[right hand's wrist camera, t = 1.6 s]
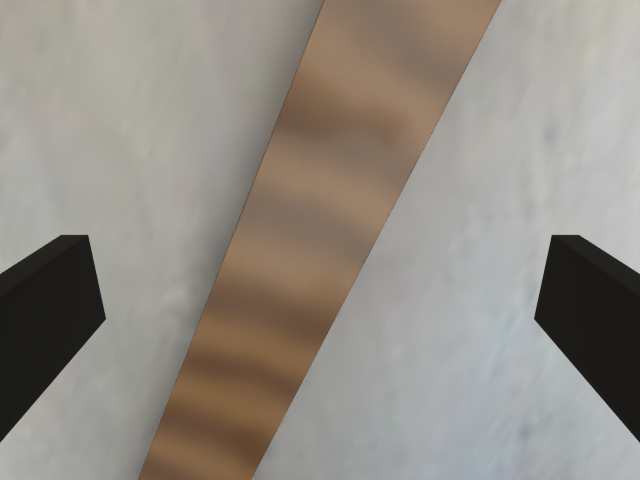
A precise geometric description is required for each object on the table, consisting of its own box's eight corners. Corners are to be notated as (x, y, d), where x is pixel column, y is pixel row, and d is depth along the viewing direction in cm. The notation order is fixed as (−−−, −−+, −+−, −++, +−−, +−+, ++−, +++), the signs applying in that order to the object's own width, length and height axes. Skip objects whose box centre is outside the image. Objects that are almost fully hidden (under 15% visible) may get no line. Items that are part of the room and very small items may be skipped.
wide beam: (446, -304, 23) (493, -438, 17) (577, -219, 25) (665, -314, 18) (123, 522, 47) (94, 591, 41) (199, 542, 49) (182, 612, 42)
